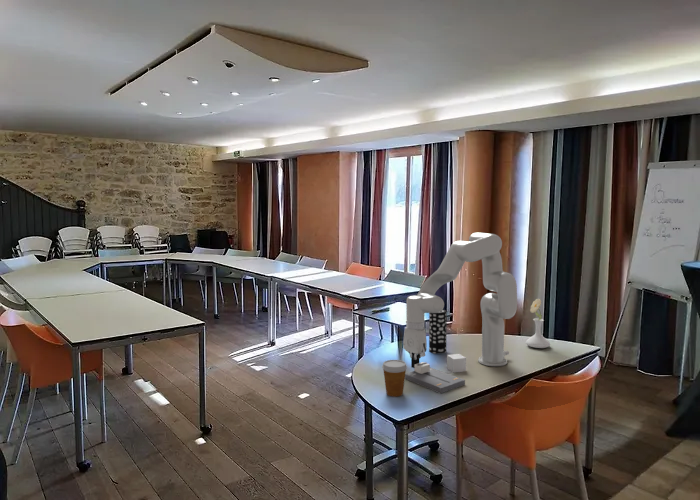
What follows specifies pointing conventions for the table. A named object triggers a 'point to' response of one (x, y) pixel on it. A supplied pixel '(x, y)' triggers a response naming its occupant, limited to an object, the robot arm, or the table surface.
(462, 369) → the white cube
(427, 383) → the console
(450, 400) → the table surface
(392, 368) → the disposable coffee cup
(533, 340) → the flower in vase
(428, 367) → the fader
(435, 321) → the spotted tube
